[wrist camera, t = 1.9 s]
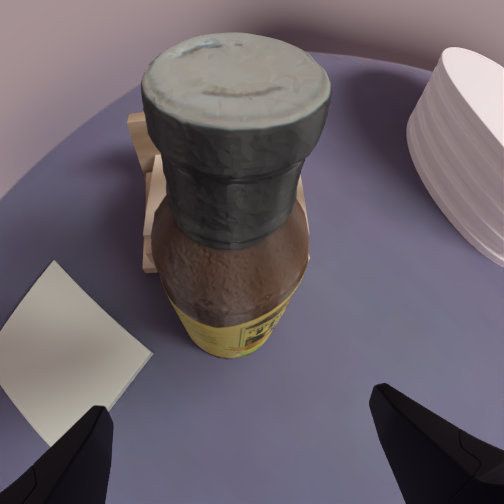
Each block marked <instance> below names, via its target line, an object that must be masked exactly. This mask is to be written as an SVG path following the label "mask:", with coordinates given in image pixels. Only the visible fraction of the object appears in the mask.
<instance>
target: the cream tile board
mask: <svg viewBox="0 0 504 504" xmlns="http://www.w3.org/2000/svg"><path fill="white" fill-rule="evenodd" d="M153 354H154V353H153V352H151V351H150V350H149V349H148V348H147V347H145V346H144V345H143V344H142V343H141V342H139V341H138V340H137V339H136V338H135V337H134V336H133V335H131V334H130V333H129V332H128V331H127V330H126V329H125V328H123V327H122V326H121V325H120V324H119V323H118V322H117V321H116V320H115V319H113V318H112V317H111V316H110V315H109V314H108V313H107V312H106V311H105V310H104V309H103V308H102V307H101V306H100V305H98V304H97V303H96V302H95V301H94V300H93V299H92V298H91V297H90V296H89V295H88V294H87V293H86V292H85V291H84V290H83V289H82V288H81V287H80V286H79V285H78V284H77V283H76V282H75V281H74V280H73V279H72V278H71V277H70V276H69V275H68V274H67V273H66V271H65V270H64V269H63V268H62V267H61V266H60V265H59V264H58V263H57V262H56V261H55V260H53V262H52V263H51V264H50V265H49V267H48V268H47V269H46V270H45V271H44V273H43V274H42V275H41V276H40V278H39V279H38V280H37V282H36V283H35V284H34V285H33V287H32V288H31V289H30V291H29V292H28V293H27V295H26V296H25V297H24V299H23V300H22V301H21V303H20V304H19V305H18V307H17V308H16V310H15V311H14V312H13V314H12V315H11V317H10V318H9V319H8V321H7V322H6V324H5V325H4V327H3V328H2V330H1V331H0V385H1V387H2V388H3V389H4V391H5V392H6V394H7V395H8V396H9V398H10V399H11V400H12V402H13V403H14V404H15V406H16V407H17V408H18V410H19V411H20V412H21V413H22V415H23V416H24V417H25V418H26V419H27V421H28V422H29V423H30V424H31V426H32V427H33V428H34V429H35V430H36V431H37V432H38V434H39V435H40V436H41V437H42V438H43V439H44V440H45V441H46V443H47V444H48V445H49V446H50V447H51V446H52V445H53V444H54V443H55V442H56V441H57V440H59V439H60V438H61V437H62V436H63V435H64V434H65V433H66V432H67V431H68V430H69V429H70V428H71V427H72V426H73V425H74V424H75V423H76V422H77V421H78V420H79V419H80V418H81V417H82V416H83V415H84V414H85V413H86V412H87V411H88V410H89V409H90V408H91V407H92V406H94V405H101V406H105V407H106V408H107V410H108V412H109V411H110V409H111V408H112V407H113V406H114V404H115V403H116V402H117V400H118V399H119V398H120V397H121V395H122V394H123V393H124V391H125V390H126V389H127V387H128V386H129V385H130V384H131V382H132V381H133V380H134V378H135V377H136V376H137V375H138V373H139V372H140V371H141V369H142V368H143V367H144V366H145V364H146V363H147V362H148V361H149V359H150V358H151V357H152V355H153Z"/></svg>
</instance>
